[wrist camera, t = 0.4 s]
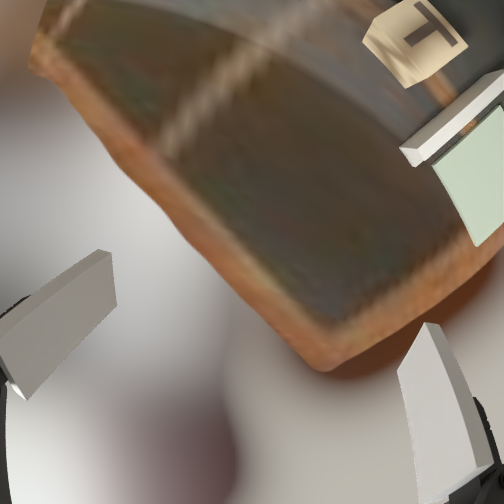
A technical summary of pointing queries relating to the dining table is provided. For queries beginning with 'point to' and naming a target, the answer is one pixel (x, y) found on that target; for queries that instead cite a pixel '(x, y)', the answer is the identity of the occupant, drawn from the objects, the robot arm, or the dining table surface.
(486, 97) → the white slab
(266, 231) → the dining table surface
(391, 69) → the maple cube
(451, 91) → the dining table surface
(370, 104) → the dining table surface
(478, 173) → the display pad
